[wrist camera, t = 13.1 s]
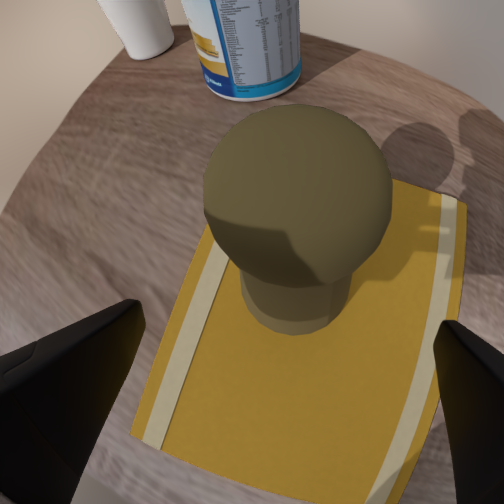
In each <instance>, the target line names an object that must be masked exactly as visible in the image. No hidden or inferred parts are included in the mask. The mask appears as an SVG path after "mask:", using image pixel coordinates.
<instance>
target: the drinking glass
mask: <svg viewBox="0 0 504 504" xmlns="http://www.w3.org/2000/svg"><path fill="white" fill-rule="evenodd" d="M96 1H97V2H98V4H99V6H100V7H101V9H102V10H103V12H104V14H105V15H106V17H107V18H108V20H109V22H110V23H111V25H112V26H113V28H114V30H115V31H116V33H117V34H118V36H119V38H120V39H121V41H122V43H123V44H124V47H125V49H126V51H127V53H128V55H129V56H130V57H131V58H133V59H135V60H145V59H149V58H153V57H155V56H157V55H159V54H161V53H163V52H164V51H166V50H167V49H168V48H169V47H170V46H171V45H172V44H173V42H174V33H173V30H172V28H171V25H170V22H169V17H168V13H167V9H166V5H165V0H96Z"/></svg>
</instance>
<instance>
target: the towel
mask: <svg viewBox="0 0 504 504" xmlns="http://www.w3.org/2000/svg"><path fill="white" fill-rule="evenodd" d="M392 181H393V196H392V214H391V220H390V223H389V225H388V227H387V230H386V232H385V234H384V236H383V239H382V241H381V243H380V245H379V246H378V248H377V249H376V250H375V252H374V253H373V254H372V255H371V256H370V257H369V258H368V259H367V260H366V261H365V262H364V263H363V264H362V265H361V266H360V267H359V268H358V269H357V270H356V271H355V272H353V274H352V279H351V284H350V289H349V294H348V299H347V301H346V303H345V305H344V307H343V309H342V310H341V312H340V314H339V315H338V316H337V317H336V318H335V319H334V320H333V321H332V322H331V323H330V324H329V325H327V326H326V327H324V328H322V329H320V330H318V331H315V332H313V333H311V334H304V335H295V336H291V335H286V334H282V333H277V332H274V331H272V330H270V329H269V328H267V327H265V326H264V325H262V324H260V323H259V322H258V321H257V320H256V318H255V317H254V316H253V315H252V314H251V313H250V312H249V310H248V308H247V306H246V304H245V301H244V299H243V296H242V292H241V282H240V272H239V268H238V267H237V266H236V265H235V264H234V263H233V262H232V260H231V259H230V258H229V257H228V256H227V255H226V254H225V252H224V251H223V250H222V249H221V248H220V247H219V245H218V244H217V242H216V241H215V239H214V237H213V235H212V232H211V230H210V227H209V224H208V223H207V225H206V228H205V230H204V233H203V235H202V237H201V240H200V242H199V245H198V247H197V250H196V252H195V254H194V257H193V259H192V262H191V264H190V267H189V269H188V272H187V274H186V277H185V280H184V282H183V285H182V287H181V290H180V292H179V295H178V298H177V300H176V303H175V305H174V308H173V311H172V313H171V316H170V319H169V321H168V324H167V327H166V329H165V332H164V335H163V338H162V340H161V343H160V346H159V349H158V352H157V354H156V357H155V360H154V363H153V366H152V368H151V371H150V374H149V377H148V380H147V383H146V386H145V389H144V392H143V395H142V398H141V401H140V404H139V407H138V410H137V413H136V416H135V419H134V422H133V425H132V429H131V432H130V434H131V435H133V436H134V437H136V438H138V439H140V440H142V442H144V443H146V444H148V445H150V446H152V447H154V448H156V449H158V450H162V451H164V452H166V453H168V454H170V455H172V456H174V457H177V458H179V459H181V460H183V461H186V462H188V463H190V464H193V465H195V466H197V467H200V468H202V469H205V470H207V471H210V472H212V473H215V474H218V475H220V476H223V477H226V478H228V479H231V480H234V481H237V482H240V483H243V484H246V485H249V486H252V487H255V488H259V489H262V490H265V491H269V492H272V493H276V494H280V495H283V496H287V497H291V498H295V499H299V500H304V501H308V502H313V503H318V504H398V502H399V500H400V498H401V496H402V494H403V492H404V490H405V488H406V485H407V483H408V481H409V479H410V477H411V474H412V472H413V470H414V467H415V465H416V463H417V460H418V458H419V455H420V453H421V450H422V448H423V445H424V442H425V440H426V437H427V434H428V431H429V429H430V426H431V423H432V420H433V417H434V414H435V410H436V407H437V404H438V401H439V397H440V393H439V387H438V380H437V372H436V365H435V359H434V352H433V343H434V339H435V337H436V334H437V332H438V329H439V326H440V324H441V322H442V321H443V320H456V321H457V318H458V312H459V306H460V298H461V291H462V282H463V273H464V262H465V248H466V228H467V204H466V203H463V202H460V201H458V200H457V199H455V198H453V197H450V196H447V195H444V194H438V193H435V192H432V191H430V190H427V189H424V188H421V187H418V186H415V185H411V184H408V183H405V182H402V181H399V180H396V179H392Z"/></svg>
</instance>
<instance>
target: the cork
mask: <svg viewBox="0 0 504 504" xmlns="http://www.w3.org/2000/svg"><path fill="white" fill-rule="evenodd" d="M392 196H393V181H392V178H391V174H390V171H389V168H388V166H387V163H386V160H385V157H384V156H383V154H382V152H381V150H380V149H379V147H378V146H377V145H376V144H375V142H374V141H373V140H372V138H371V137H370V136H369V134H368V133H367V132H366V131H365V130H364V129H363V128H361V127H360V126H359V125H357V124H356V123H355V122H353V121H352V120H350V119H349V118H348V117H346V116H344V115H342V114H339V113H337V112H334V111H331V110H329V109H326V108H324V107H318V106H311V105H303V104H292V105H282V106H274V107H271V108H268V109H265V110H262V111H259V112H256V113H253V114H251V115H250V116H248V117H247V118H245V119H243V120H242V121H241V122H239V123H238V124H236V125H235V126H233V127H232V128H231V129H230V130H229V132H228V133H227V134H226V135H225V136H224V138H223V139H222V140H221V141H220V142H219V144H218V145H217V146H216V148H215V150H214V151H213V153H212V155H211V158H210V160H209V163H208V166H207V168H206V171H205V174H204V214H205V217H206V219H207V222H208V224H209V227H210V230H211V232H212V235H213V237H214V239H215V241H216V242H217V244H218V245H219V247H220V248H221V249H222V250H223V251H224V252H225V254H226V255H227V256H228V257H229V258H230V259H231V260H232V262H233V263H234V264H235V265H236V266H237V267H238V268H239V272H240V282H241V292H242V296H243V299H244V301H245V304H246V306H247V308H248V310H249V312H250V313H251V314H252V315H253V316H254V317H255V318H256V320H257V321H258V322H259V323H260V324H262V325H264V326H265V327H267V328H269V329H270V330H272V331H274V332H277V333H282V334H286V335H291V336H295V335H304V334H311V333H313V332H315V331H318V330H320V329H322V328H324V327H326V326H327V325H329V324H330V323H331V322H332V321H333V320H334V319H335V318H336V317H337V316H338V315H339V314H340V312H341V310H342V309H343V307H344V305H345V303H346V301H347V299H348V294H349V289H350V284H351V279H352V274H353V272H355V271H356V270H357V269H358V268H359V267H360V266H361V265H362V264H363V263H364V262H365V261H366V260H367V259H368V258H369V257H370V256H371V255H372V254H373V253H374V252H375V250H376V249H377V248H378V246H379V245H380V243H381V241H382V239H383V236H384V234H385V232H386V230H387V227H388V225H389V223H390V220H391V214H392Z"/></svg>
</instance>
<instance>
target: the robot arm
mask: <svg viewBox="0 0 504 504" xmlns="http://www.w3.org/2000/svg"><path fill="white" fill-rule="evenodd" d="M145 327H146V322H145V317H144V313H143V309H142V304H141V302H140V301H139V300H134V299H126V300H123V301H121V302H119V303H117V304H115V305H113V306H110V307H108V308H106V309H104V310H102V311H99V312H97V313H95V314H93V315H91V316H89V317H86V318H84V319H82V320H80V321H78V322H76V323H73V324H71V325H69V326H67V327H65V328H63V329H60V330H58V331H56V332H54V333H52V334H50V335H47V336H45V337H43V338H41V339H39V340H38V341H34V342H32V343H30V344H28V345H26V346H24V347H21V348H19V349H17V350H15V351H12V352H10V353H7V354H5V355H2V356H0V504H70V503H71V501H72V498H73V496H74V493H75V491H76V488H77V486H78V483H79V481H80V478H81V476H82V473H83V471H84V469H85V466H86V464H87V462H88V459H89V457H90V455H91V453H92V450H93V448H94V446H95V443H96V441H97V439H98V437H99V435H100V432H101V430H102V428H103V426H104V424H105V421H106V419H107V417H108V415H109V413H110V411H111V408H112V406H113V404H114V402H115V400H116V398H117V396H118V394H119V392H120V389H121V387H122V385H123V383H124V381H125V379H126V377H127V375H128V373H129V371H130V369H131V366H132V364H133V361H134V358H135V355H136V353H137V350H138V347H139V344H140V342H141V339H142V336H143V334H144V331H145ZM433 352H434V359H435V365H436V372H437V380H438V387H439V393H440V398H441V403H442V407H443V412H444V417H445V422H446V427H447V432H448V438H449V444H450V450H451V457H452V464H453V471H454V479H455V489H456V499H457V504H504V354H502V353H501V352H500V351H498V350H497V349H495V348H494V347H493V346H491V345H490V344H489V343H487V342H486V341H484V340H483V339H482V338H480V337H479V336H477V335H476V334H474V333H473V332H472V331H470V330H469V329H467V328H466V327H465V326H463V325H462V324H460V323H459V322H457V321H456V320H443V321H442V322H441V324H440V326H439V329H438V332H437V334H436V337H435V339H434V343H433Z"/></svg>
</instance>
